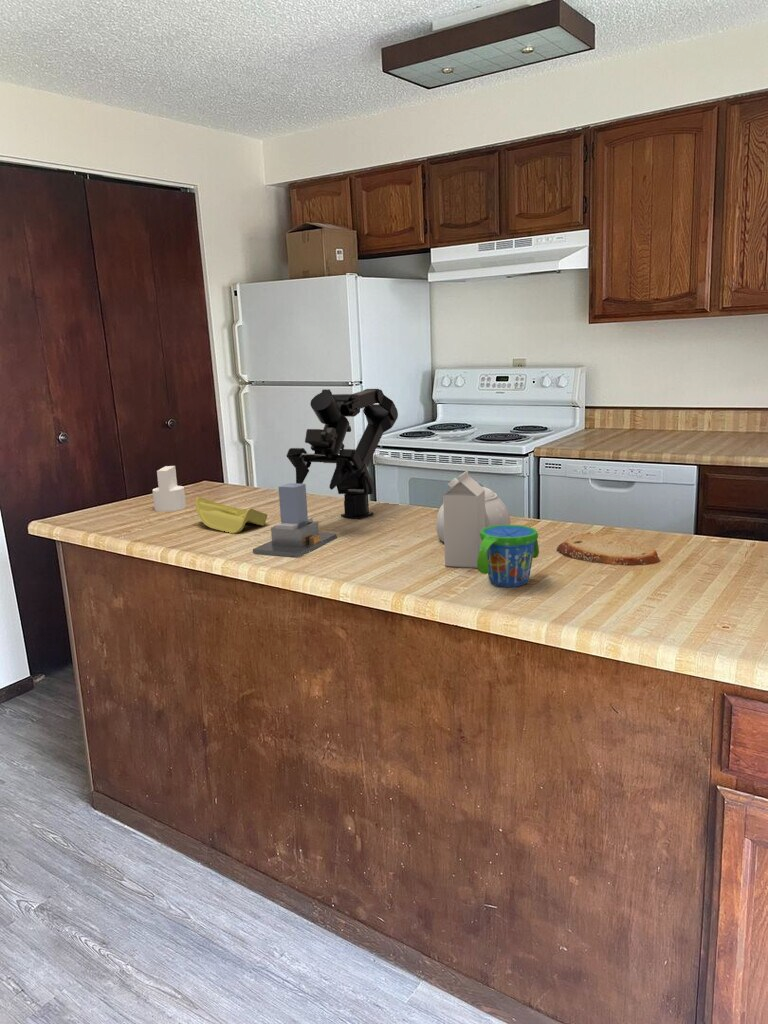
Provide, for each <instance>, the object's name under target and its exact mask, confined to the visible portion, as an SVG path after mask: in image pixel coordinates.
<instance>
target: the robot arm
mask: <svg viewBox="0 0 768 1024" xmlns="http://www.w3.org/2000/svg"><path fill="white" fill-rule="evenodd" d="M310 407H311V409H312V410H313V412H314V415H315V416H316V418H317V419H318V420H319V422H320V423H321V424H323V425H324V427H323V429H320V428H319V429H318V428H317V429H316V428H315V429H314V428H307V429H306V432H305V438H304V443H305V444H308V445H309V446H310V450H311V451H313V452H314V453H308V451H307V450H306V449H305V448H303V447H291V448H289V449H288V451H287V453H286V457H287V459H288V460H289V461H290V463H291V464H292V466H293V467H294V468H295V483H297V484H304V481H305V479H306V478H307V476H308V474H309V473H310V469H309V468H310V467H311V465H312V463H324V464H335V465H336V466H335V468H334V472H333V474H332V477H331V480H330V483H329V489H330V490H334V489H335V488H336V489H337V493H338V495H344V501H343V504H344V505H343V506H344V509H343V510H344V513H341V514H340V517H344V518H352V519H358V520H359V519H362V518H365V517H369V516H371V515H374V512H373V511H370V510H369V509H370V507H369V495H373V494H374V491H375V483H374V481H373V480H372V478H371V475H370V472H369V469H368V468H369V465H370V463H371V461H372V459H373V456H374V454H375V452H376V450H377V448H378V445H379V443H380V441H381V438H382V436H383V435H384V434H385V432H387V431H389V430H390V429H392V428H393V426H394V425H395V423H396V422H397V420H398V416H399V412H398V409H397V407H396V404H395V403H394V400H392V399H390V398H389V397H388V396H387V395H385V394H384V392H383V390H382V389H380V388H366V389H363V390H361V391H357V392H354V393H350V394H349V393H348V394H346V393H344V394H343V393H342V394H340V393H339V394H338V393H336V394H334V393H332V391H331V389H322V390H321V392H319V393H318V394H316V395H314V397H313V398H312V399H311V400H310ZM361 409H363V410H362V412H363V414H364V416H365V419H366V421H367V426H366V428H365V430H364V432H363V434H362V435H361V438H360V440H359V442H358V444H357V446H356V448H353V449H350V448H345V444H344V443H343V442H344V441H345V440H344V439H345V437H346V434H347V433H351V432H352V427H351V426H350V422H349V420H348V417H349V418H350V417H353V418H354V417H356V416H357V415H359V414H360V413H361Z"/></svg>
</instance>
